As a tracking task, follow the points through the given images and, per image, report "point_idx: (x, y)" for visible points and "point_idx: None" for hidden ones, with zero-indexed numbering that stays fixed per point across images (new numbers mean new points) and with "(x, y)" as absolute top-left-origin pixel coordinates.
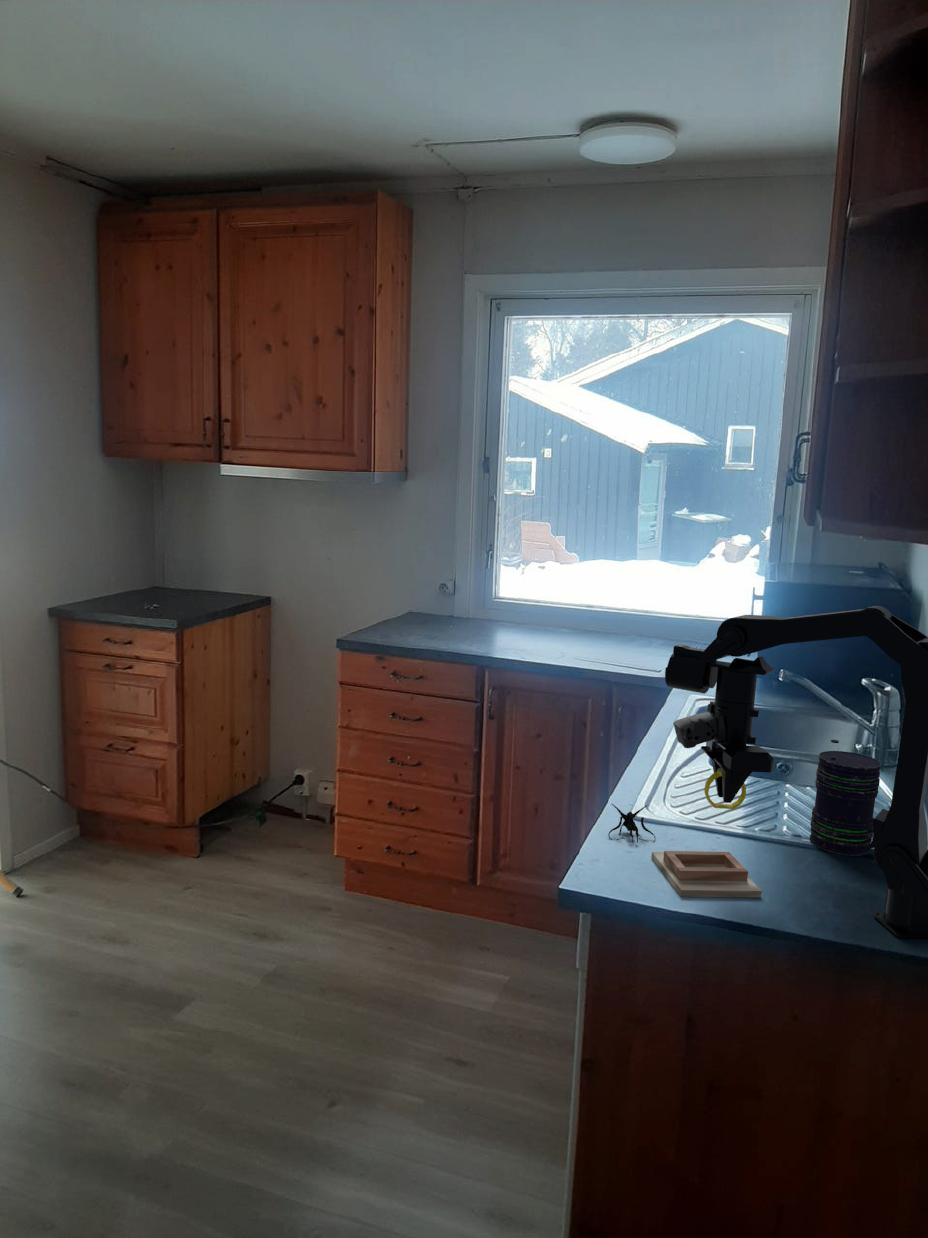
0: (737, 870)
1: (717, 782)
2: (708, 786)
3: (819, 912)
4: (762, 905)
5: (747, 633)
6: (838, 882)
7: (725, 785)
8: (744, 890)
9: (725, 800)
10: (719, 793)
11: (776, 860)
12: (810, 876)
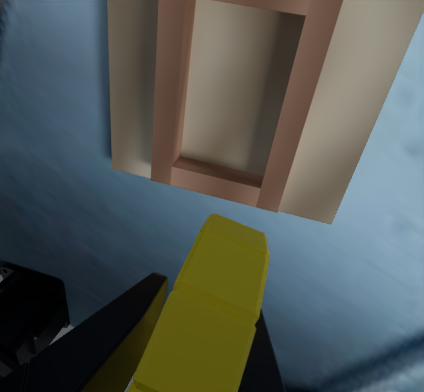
0: (157, 157)
1: None
2: (179, 279)
3: (69, 223)
4: (86, 142)
5: None
6: None
7: (46, 352)
8: (111, 131)
9: (143, 281)
10: None
11: (288, 305)
12: None
